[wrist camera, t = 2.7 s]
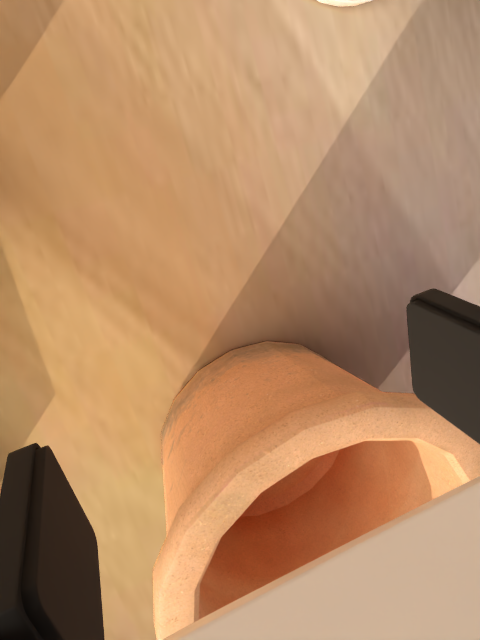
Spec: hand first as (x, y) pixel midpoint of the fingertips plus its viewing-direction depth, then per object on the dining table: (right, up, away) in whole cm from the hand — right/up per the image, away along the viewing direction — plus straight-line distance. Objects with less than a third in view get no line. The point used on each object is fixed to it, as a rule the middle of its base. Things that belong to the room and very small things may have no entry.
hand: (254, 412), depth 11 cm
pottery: (+1, -7, +28) cm, 29 cm away
